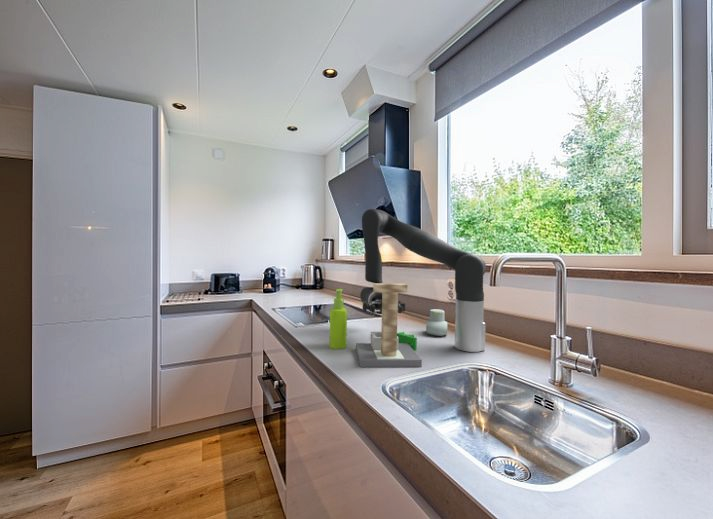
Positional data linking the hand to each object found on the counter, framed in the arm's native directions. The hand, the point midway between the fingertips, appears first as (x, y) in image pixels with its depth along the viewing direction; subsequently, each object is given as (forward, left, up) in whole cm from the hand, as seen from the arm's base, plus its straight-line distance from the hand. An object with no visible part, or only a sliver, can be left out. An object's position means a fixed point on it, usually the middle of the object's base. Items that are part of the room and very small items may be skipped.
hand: (387, 310), depth 100 cm
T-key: (0, +4, -13) cm, 13 cm away
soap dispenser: (+15, -11, -15) cm, 24 cm away
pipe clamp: (-9, -11, -15) cm, 21 cm away
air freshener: (-26, -27, -15) cm, 41 cm away
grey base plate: (0, +1, -15) cm, 15 cm away
